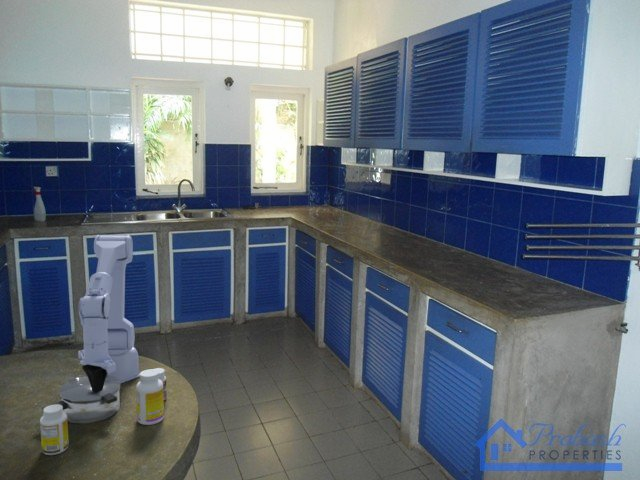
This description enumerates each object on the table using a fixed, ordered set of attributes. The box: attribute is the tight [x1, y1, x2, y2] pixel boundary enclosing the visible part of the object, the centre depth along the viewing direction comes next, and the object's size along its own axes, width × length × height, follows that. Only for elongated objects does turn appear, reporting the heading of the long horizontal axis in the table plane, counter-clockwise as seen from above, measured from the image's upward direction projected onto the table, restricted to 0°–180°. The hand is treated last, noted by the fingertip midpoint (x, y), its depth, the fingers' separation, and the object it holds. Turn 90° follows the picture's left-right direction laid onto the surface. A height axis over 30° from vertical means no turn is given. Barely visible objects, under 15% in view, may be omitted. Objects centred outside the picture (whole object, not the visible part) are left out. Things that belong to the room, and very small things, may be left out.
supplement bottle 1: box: [39, 404, 70, 456], centre depth 117 cm, size 6×6×10 cm
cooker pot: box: [41, 390, 121, 424], centre depth 134 cm, size 19×14×6 cm
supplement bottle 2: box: [135, 368, 165, 426], centre depth 131 cm, size 7×7×13 cm
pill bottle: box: [154, 367, 168, 401], centre depth 143 cm, size 5×5×8 cm
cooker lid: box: [59, 375, 121, 404], centre depth 134 cm, size 15×18×1 cm
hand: (97, 390), depth 133 cm, fingers closed, pressing on cooker lid
